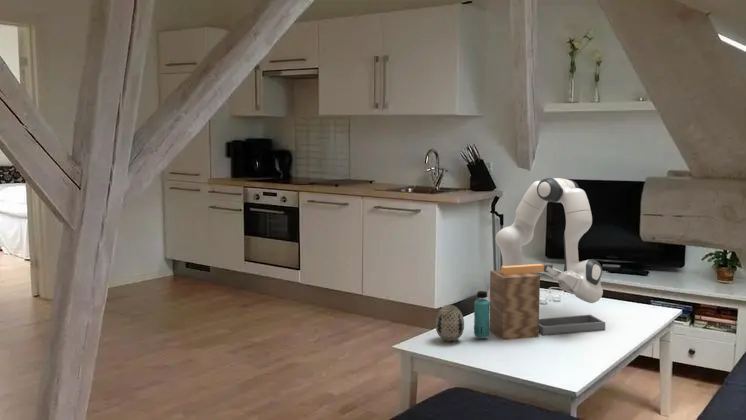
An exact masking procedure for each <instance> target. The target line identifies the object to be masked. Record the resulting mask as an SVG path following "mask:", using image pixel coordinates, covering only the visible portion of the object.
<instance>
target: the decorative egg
mask: <svg viewBox="0 0 746 420" xmlns="http://www.w3.org/2000/svg"><path fill="white" fill-rule="evenodd" d="M462 313H463V312H462V311H461V310H460V309H459V307H457V306H455V305H454V304H448V305H444V306H443V307H441V308H440V310H439V311H438V313H437V314H436V318H435V329H436V333H437V335H438V336H439V338H441V339H442V340H443V341H446V342H454V341H456V340H458V339H459V338H461V337H462V335H463V333H464V330H465V320H464V316H463V314H462Z"/></svg>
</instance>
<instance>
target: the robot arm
mask: <svg viewBox="0 0 746 420" xmlns="http://www.w3.org/2000/svg"><path fill="white" fill-rule="evenodd" d="M589 201H590V200H589V199H588V195H587V193H586V191H585V190H584V189H582V188H580V186H579V185H578V183H577V182H576V181H574V180H572V179H569V178H567V179H566V178H562V177H546V178H543V179H541V180H535V181H534V182H532V184H531V185H530V186H529V187H528V188H527V191H525V193H524V195H523V196H522V198H521V200H520V202H519V203H518V206H517V208H516V209H515V218H514V221H513V223H512V224H510V225H508V226H506V227H503V228H501V229H500V230H499V231H498V232H497V233H496V235H495V243H496V245H497V246H498V248H499V249H500V254H501V258H502V266H514V265H527V260H526V258H525V257H524V255H523V251H522V250H523V249H522V247H523V246H526V245H528V244H529V243H531V242H532V240H533V238H534V236H535V235H534V234H535V233H534V231H535V228H536V225H537V223H538V220H539V218H540V217H541V215H542V213H543V211H544V209H545V207H546V206H547V205H548V203H551V202H552V203H561V204H562V205H563V209H564V215H565V229H564V231H563V232H564V233H563V253H564V266H563V267H564V268H563V271H561V270H560V269H558V268H555V267H553V269H552V268H550V267H548V266H546V268H545V270H546V271H548V272H542V273H543V274H545V275H547V276H549V277H550V278H552V279H555V280H557V282H558V285H559V288H560V289H561V290H563V291H565V292H567V293H568V294H570V295H574V296H575V297H576V298H577V299H579V300H581V301H584V302H586V303H588V304H595V303H596V302H599V301H600V299H601V298H602V296H603V293H604V290H603V288H602V285H601V284H602V283H601V282H602V281H601V280H602V275H603V268H602V265H601V264H600V262H598V261H597V260H596V259H594V258H591V259H586V260H582V261H579V249H578V248H579V242H580V240H581V238H582V237H583V235H584V234H586V233H587V232H588V231H589V229H591V226H592V225H593V215H592V210H591V206H590V202H589ZM482 299H487V300H488V301H489V302H490V288H489V289H488V292H487V298H482Z"/></svg>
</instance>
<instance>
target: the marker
mask: <svg viewBox="0 0 746 420" xmlns="http://www.w3.org/2000/svg"><path fill="white" fill-rule="evenodd" d="M546 266H548V267H550V268H552V269H553V268H554V267H553V266H554V265H553V264H552V263H549V262H547V263H532V264H530V263H529V264H526V265H514V266H503V265H502V266H500V270H501V274H503V275H510V274H525V273H535V274H537V273H543V272H548V271H546V270H545V268H546Z"/></svg>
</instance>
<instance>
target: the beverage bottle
mask: <svg viewBox="0 0 746 420" xmlns="http://www.w3.org/2000/svg"><path fill="white" fill-rule="evenodd" d="M487 295H488V292H487V291H485V290H484V291H483V290H481V291H480V290H479V291H477V295H476V297H477V299H476V300H475V301H474V309H473V310H474V311H473V316H474V318H473V319H474V320H473V335H474V336H475V337H477V338H488V337H489V336H490V330H489V324H490V302H489V301H488V300H487V299H483V298H487Z"/></svg>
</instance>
